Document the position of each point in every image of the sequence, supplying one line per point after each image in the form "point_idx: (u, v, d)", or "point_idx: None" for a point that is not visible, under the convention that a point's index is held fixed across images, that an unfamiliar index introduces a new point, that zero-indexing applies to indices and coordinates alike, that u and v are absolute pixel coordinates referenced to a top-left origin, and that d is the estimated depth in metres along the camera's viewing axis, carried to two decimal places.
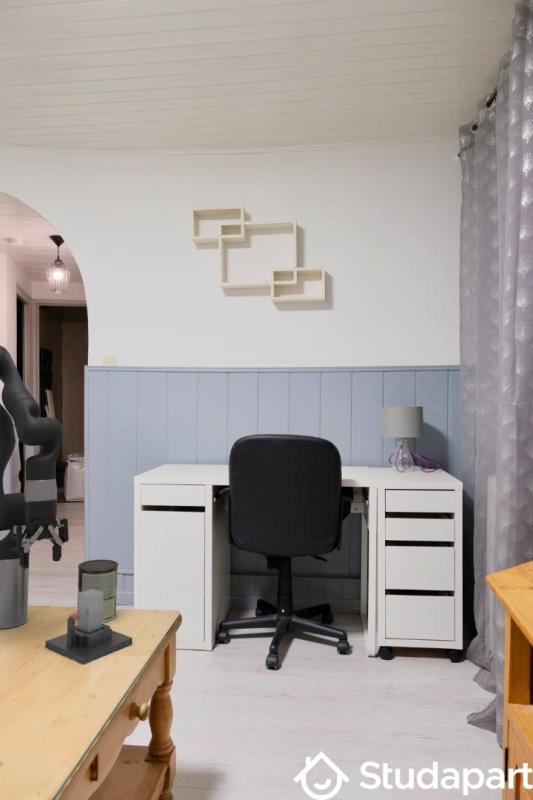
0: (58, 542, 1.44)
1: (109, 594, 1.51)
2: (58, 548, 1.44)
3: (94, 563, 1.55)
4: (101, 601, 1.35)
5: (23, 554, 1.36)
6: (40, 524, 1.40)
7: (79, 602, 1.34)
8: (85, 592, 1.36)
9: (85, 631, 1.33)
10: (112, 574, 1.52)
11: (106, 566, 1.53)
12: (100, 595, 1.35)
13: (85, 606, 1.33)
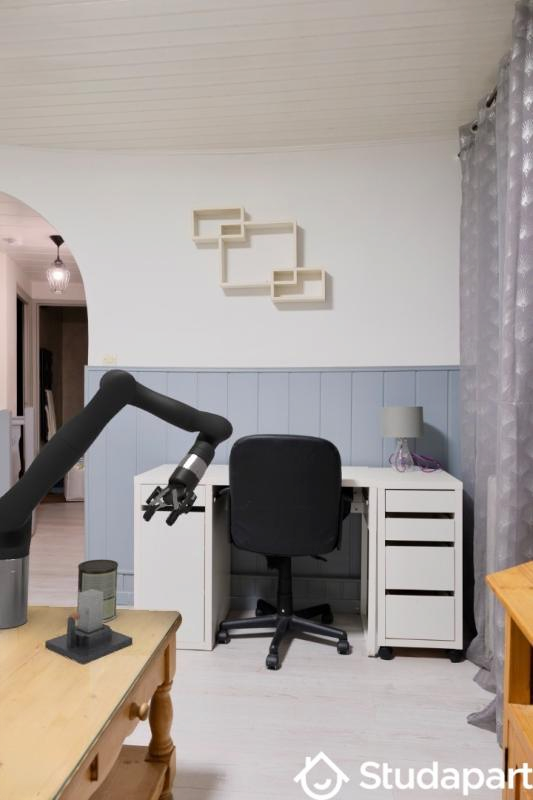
0: None
1: (109, 594, 1.51)
2: None
3: (94, 563, 1.55)
4: (101, 601, 1.35)
5: None
6: None
7: (79, 602, 1.34)
8: (85, 592, 1.36)
9: (85, 631, 1.33)
10: (112, 574, 1.52)
11: (106, 566, 1.53)
12: (100, 595, 1.35)
13: (85, 606, 1.33)
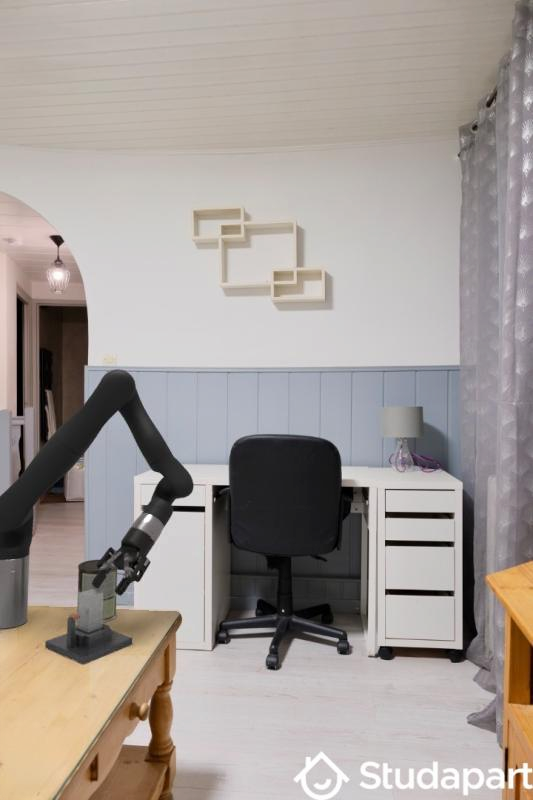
0: None
1: (109, 594, 1.51)
2: None
3: (94, 563, 1.55)
4: (101, 601, 1.35)
5: None
6: None
7: (79, 602, 1.34)
8: (85, 592, 1.36)
9: (85, 631, 1.33)
10: (112, 574, 1.52)
11: None
12: (100, 595, 1.35)
13: (85, 606, 1.33)
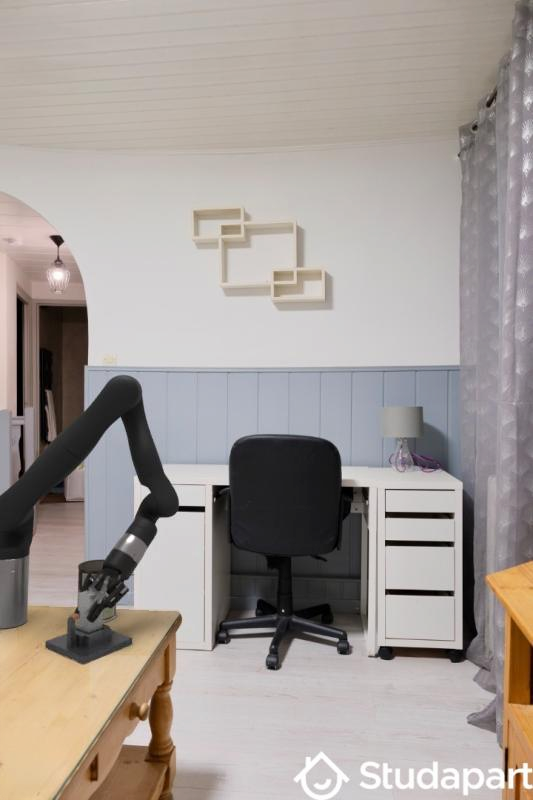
0: None
1: None
2: None
3: (94, 563, 1.55)
4: None
5: None
6: None
7: (79, 602, 1.34)
8: (85, 592, 1.36)
9: (85, 631, 1.33)
10: None
11: None
12: (100, 595, 1.35)
13: (85, 606, 1.33)
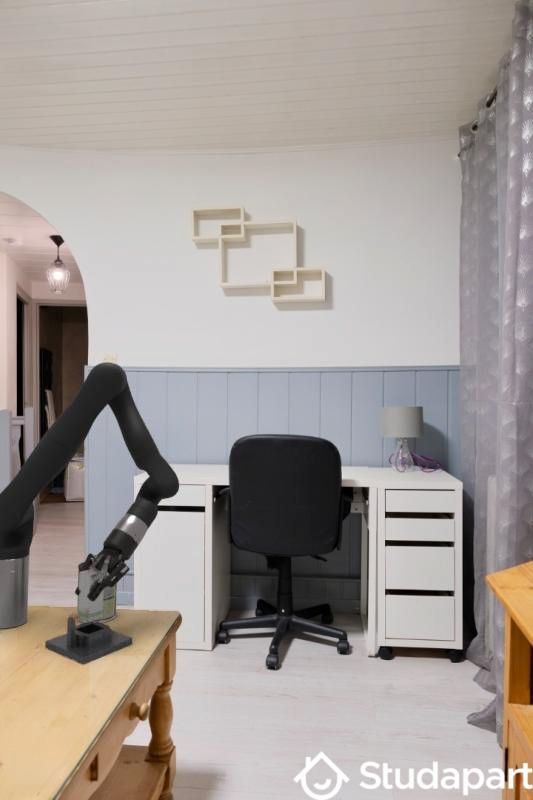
0: None
1: (109, 594, 1.51)
2: None
3: None
4: None
5: None
6: None
7: (80, 581, 1.35)
8: (85, 571, 1.36)
9: (86, 610, 1.33)
10: None
11: None
12: None
13: (86, 585, 1.33)
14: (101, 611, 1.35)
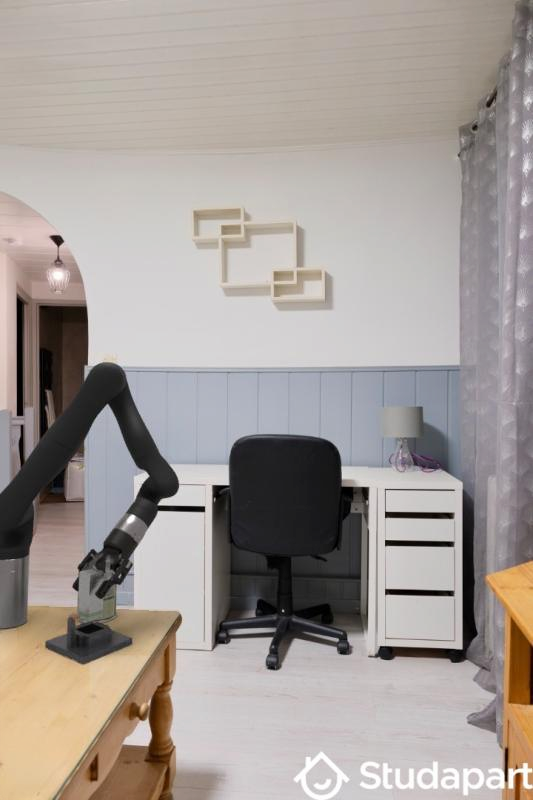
0: None
1: (109, 594, 1.51)
2: None
3: None
4: (102, 579, 1.35)
5: None
6: None
7: (80, 581, 1.35)
8: (85, 571, 1.36)
9: (86, 610, 1.33)
10: None
11: None
12: (101, 574, 1.35)
13: (86, 584, 1.33)
14: (101, 611, 1.35)
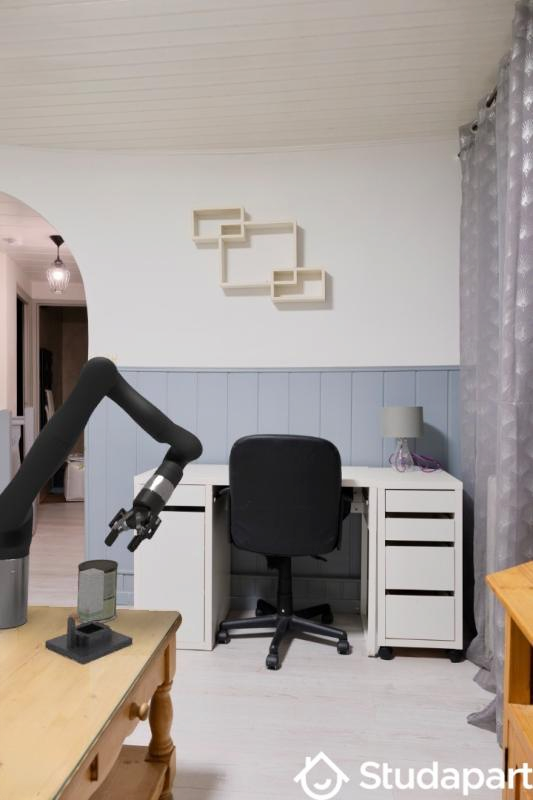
0: None
1: (109, 594, 1.51)
2: None
3: (94, 563, 1.55)
4: (102, 579, 1.35)
5: None
6: None
7: (80, 581, 1.35)
8: (85, 571, 1.36)
9: (86, 610, 1.33)
10: (112, 574, 1.52)
11: (106, 566, 1.53)
12: (101, 574, 1.35)
13: (86, 584, 1.33)
14: (101, 611, 1.35)
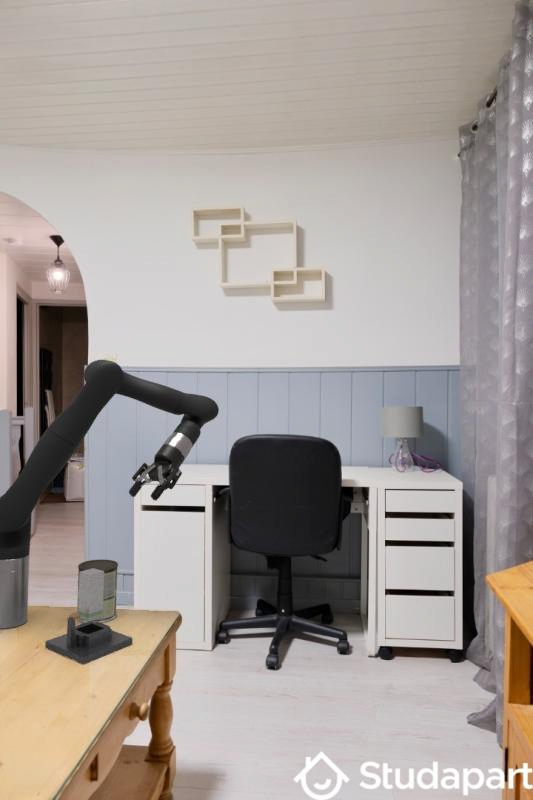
0: None
1: (109, 594, 1.51)
2: None
3: (94, 563, 1.55)
4: (102, 579, 1.35)
5: None
6: None
7: (80, 581, 1.35)
8: (85, 571, 1.36)
9: (86, 610, 1.33)
10: (112, 574, 1.52)
11: (106, 566, 1.53)
12: (101, 574, 1.35)
13: (86, 584, 1.33)
14: (101, 611, 1.35)
